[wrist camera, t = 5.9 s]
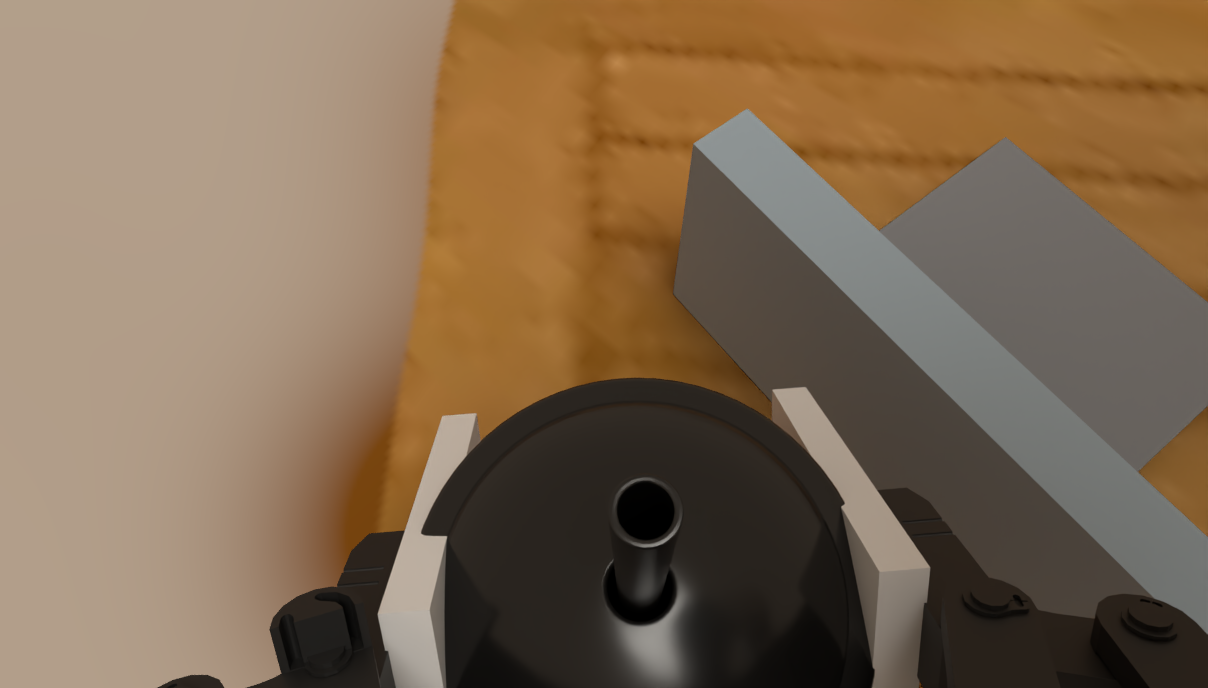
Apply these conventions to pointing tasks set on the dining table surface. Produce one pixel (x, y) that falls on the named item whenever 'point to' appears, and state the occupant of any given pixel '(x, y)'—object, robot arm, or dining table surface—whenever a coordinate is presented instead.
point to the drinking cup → (646, 549)
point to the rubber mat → (1065, 297)
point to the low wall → (919, 384)
